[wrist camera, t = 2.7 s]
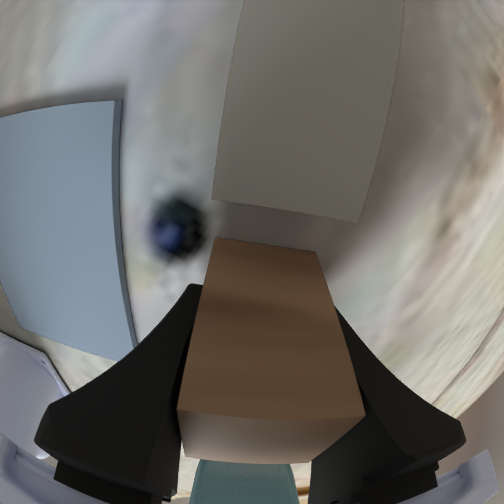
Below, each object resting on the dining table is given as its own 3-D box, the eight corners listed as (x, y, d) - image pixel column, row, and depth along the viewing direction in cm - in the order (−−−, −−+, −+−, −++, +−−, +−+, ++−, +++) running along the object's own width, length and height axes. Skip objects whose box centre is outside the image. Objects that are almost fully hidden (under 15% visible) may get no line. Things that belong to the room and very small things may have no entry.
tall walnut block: (291, 322, 13) (307, 462, 7) (208, 312, 12) (185, 456, 6) (315, 252, 11) (365, 415, 5) (215, 237, 10) (176, 408, 4)
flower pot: (275, 453, 24) (277, 520, 17) (198, 448, 24) (191, 516, 16) (297, 428, 20) (304, 517, 12) (196, 421, 19) (185, 514, 12)
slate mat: (140, 359, 15) (137, 366, 14) (24, 321, 14) (20, 327, 13) (122, 99, 8) (114, 100, 7) (-22, 124, 7) (-30, 126, 6)
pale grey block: (331, 189, 10) (357, 223, 7) (223, 171, 9) (211, 199, 7) (366, 20, 6) (404, -3, 4) (254, -7, 6) (255, -46, 3)
